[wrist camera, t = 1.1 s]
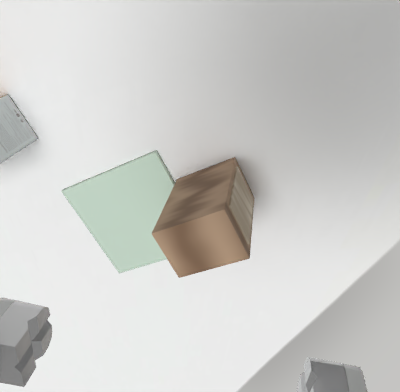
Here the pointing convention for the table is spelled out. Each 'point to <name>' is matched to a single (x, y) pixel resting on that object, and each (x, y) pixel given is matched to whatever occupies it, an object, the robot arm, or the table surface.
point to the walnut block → (207, 220)
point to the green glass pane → (125, 209)
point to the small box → (13, 129)
